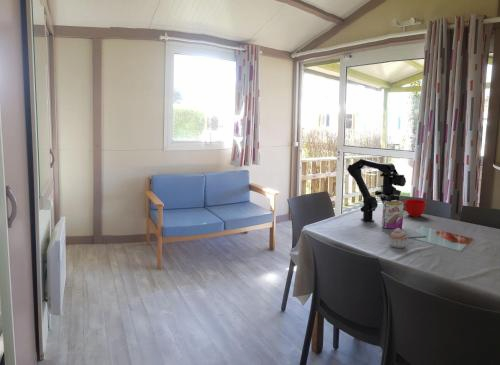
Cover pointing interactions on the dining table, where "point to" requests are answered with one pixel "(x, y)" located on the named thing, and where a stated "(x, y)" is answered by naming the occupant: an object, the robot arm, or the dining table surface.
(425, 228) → the dining table surface
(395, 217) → the candy bar box
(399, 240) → the cupcake
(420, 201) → the ceramic cup
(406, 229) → the mat
